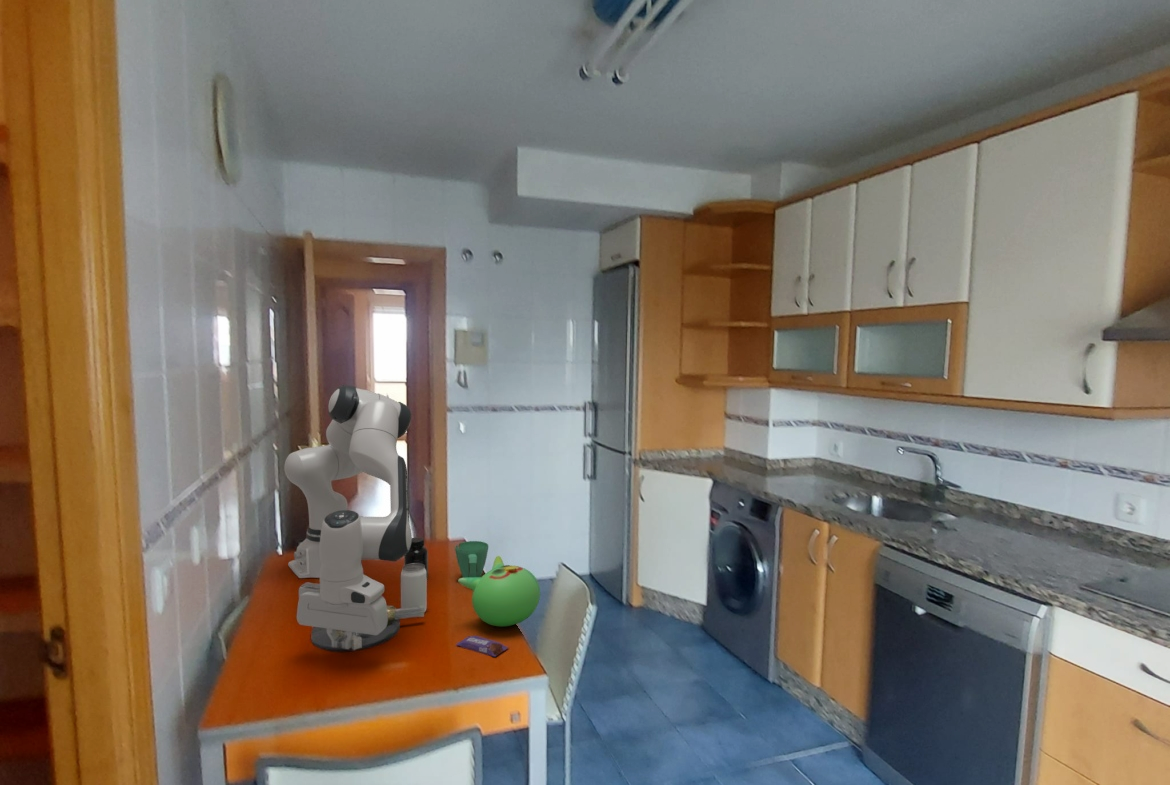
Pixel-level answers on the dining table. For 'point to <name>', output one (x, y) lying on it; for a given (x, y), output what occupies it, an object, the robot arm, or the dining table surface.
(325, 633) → the levelling plate
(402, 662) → the dining table surface
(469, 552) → the mug
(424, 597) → the can
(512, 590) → the toy bird
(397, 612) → the left knob
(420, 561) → the supplement bottle
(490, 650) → the snack package
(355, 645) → the front knob
